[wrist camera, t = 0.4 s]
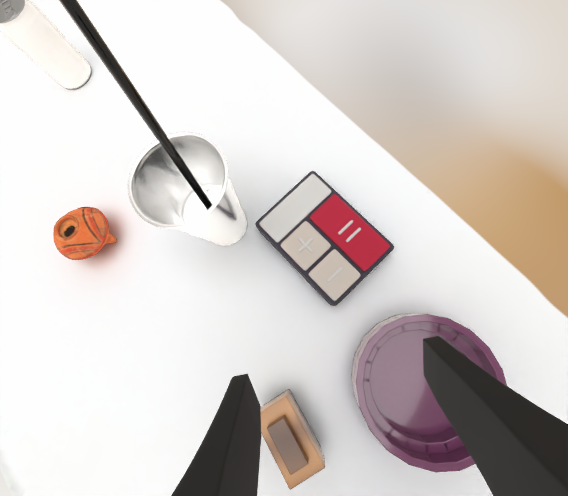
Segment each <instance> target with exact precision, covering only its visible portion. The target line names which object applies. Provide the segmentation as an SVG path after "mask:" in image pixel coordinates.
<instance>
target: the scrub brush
mask: <svg viewBox="0 0 568 496" xmlns="http://www.w3.org/2000/svg"><path fill="white" fill-rule="evenodd" d="M260 411H261V433H262V435H263V437H264V439H265V441H266V443H267V445H268V447H269V449H270V451H271V453H272V455H273V457H274V459H275V461H276V463H277V465H278V467H279V469H280V471H281V473H282V475H283V477H284V479H285V481H286V483H287V485H288V487H289V489H292V488H294V487H295V486H297V485H298V484H300V483H301V482H303V481H305V480H306V479H308V478H309V477H311V476H312V475H314V474H315V473H317V472H319V471H320V470H322V469H323V468H325V461H324V455H323V453H322V451H321V449H320V444H319V442H318V441H317V439H316V437H315V435H314V433H313V432H312V430H311V428H310V426H309V424H308V422H307V421H306V419H305V417H304V415H303V413H302V412H301V410H300V408H299V406H298V404H297V403H296V401H295V399H294V397H293V395H292V393H291V392H290V390H289V389H288V390H287V391H285V392H283V393H282V394H280V395H279V396H277V397H275V398H274V399H272V400H271V401H269V402H268V403H266V404H264V406H263V407H261V408H260Z"/></svg>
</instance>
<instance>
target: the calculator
mask: <svg viewBox="0 0 568 496" xmlns="http://www.w3.org/2000/svg"><path fill="white" fill-rule="evenodd" d="M256 227H257V228H258V230H259V231H260V233H261V234H262V235H263V236H264V237H265V238H266V239H267V240H268V241H269V242H270V243H271V244H272V245H273V246H274V247H275V248H276V249H277V250H278V251H279V252H280V253H281V254H282V255H283V256H284V257H285V258H286V259H287V260H288V261H289V263H290V264H291V265H292V266H293V267H294V268H295V269H296V270H297V271H298V272H299V273H300V274H301V275H302V276H303V277H304V278H305V279H306V280H307V281H308V282H309V283H310V284H311V285H312V286H313V287H314V289H315V290H316V291H317V292H318V293H319V294H320V295H321V296H322V297H323V298H324V299H325V300H326V301H327V302H328V303H329V304H330V305H332V306H336V305H337V304H338V303H339V302H340V301H341V300H342V299H343V298H344V297H345V296H346V295H347V294H348V293H349V292H350V291H351V290H352V289H353V288H354V287H355V286H357V285H358V284H359V283H360V282H361V281H362V280H363V279H364V278H365V277H366V276H367V275H368V274H369V273H370V272H371V271H372V270H373V269H374V268H375V267H376V266H377V265H378V264H379V263H380V262H381V261H382V260H383V259H384V258H385V257H386V256H387V255H388V254H389V253H390V252H391V251H392V250H393V249H394V246H393V244H392V243H391V242H390V241H388V240H387V239H386V238H385V237H384V236H383V235H382V234H381V233H380V232H379V231H378V230H377V229H376V228H375V227H373V226H372V225H371V224H370V223H369V222H368V221H367V220H366V219H365V218H364V217H363V216H362V215H361V214H360V213H358V212H357V211H356V210H355V209H354V208H353V207H352V206H351V205H350V204H349V203H348V202H347V201H346V200H345V199H343V198H342V197H341V196H340V195H339V194H338V193H337V192H336V191H335V190H334V189H333V188H332V187H331V186H330V185H328V184H327V183H326V182H325V181H324V180H323V179H322V178H321V177H320V176H319V175H318V174H317V173H316V172H314V171H311V172H310V173H309V174H308V175H307V176H306V177H304V178H303V179H302V180H301V181H300V182H299V183H298V184H297V185H296V186H295V187H294V188H293V189H291V190H290V191H289V192H288V193H287V194H286V195H285V196H284V197H283V198H282V199H281V200H280V201H279V202H277V203H276V204H275V205H274V206H273V207H272V208H271V209H270V210H269V211H268V212H267V213H266V214H265V215H263V216H262V217H261V218H260V219H259V220H258V221H257V222H256Z"/></svg>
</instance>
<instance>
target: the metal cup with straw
mask: <svg viewBox="0 0 568 496" xmlns="http://www.w3.org/2000/svg"><path fill="white" fill-rule="evenodd" d="M59 1H60V2H61V3H62V5H63V6H64V8H65V9H66V11H67V12H68V13H69V15H70V16H71V18H72V19H73V20H74V22H75V23H76V25H77V26H78V28H79V29H80V30H81V32H82V33H83V35H84V36H85V37H86V39H87V40H88V42H89V43H90V45H91V46H92V47H93V49H94V50H95V52H96V53H97V54H98V56H99V57H100V59H101V60H102V62H103V63H104V64H105V66H106V67H107V69H108V70H109V72H110V73H111V74H112V76H113V77H114V79H115V80H116V81H117V83H118V84H119V86H120V87H121V89H122V90H123V91H124V93H125V94H126V96H127V97H128V98H129V100H130V101H131V103H132V104H133V106H134V107H135V108H136V110H137V111H138V113H139V114H140V115H141V117H142V118H143V120H144V121H145V123H146V124H147V125H148V127H149V128H150V130H151V131H152V132H153V134H154V135H155V137H156V138H157V140H156V141H154V142H153V143H151V144H150V145H149V146H147V147H146V148H145V149H144V150H143V151H142V152H141V154H140V155H139V156H138V158H137V159H136V161H135V162H134V164H133V166H132V169H131V172H130V175H129V180H128V194H129V198H130V201H131V204H132V206H133V208H134V210H135V211H136V212H137V214H138V215H139V216H140V217H141V218H142V219H144V220H145V221H147V222H148V223H150V224H152V225H154V226H157V227H160V228H166V229H177V230H180V231H183V232H185V233H188V234H191V235H193V236H196V237H199V238H203V239H205V240H208V241H210V242H213V243H215V244H217V245H221V246H228V245H232V244H234V243H236V242H237V241H239V240H240V239H241V238H242V236H243V235H244V233H245V231H246V227H247V220H246V216H245V214H244V213H243V210H242V208H241V206H240V204H239V201H238V198H237V195H236V193H235V191H234V188H233V186H232V184H231V181H230V179H229V177H228V166H227V162H226V159H225V156H224V154H223V153H222V151H221V150H220V148H219V147H218V146H217V145H216V144H215V143H214V142H213V141H212V140H210V139H209V138H207V137H205V136H203V135H200V134H197V133H192V132H178V133H172V134H169V135H166V134H165V132H164V131H163V129H162V128H161V126H160V125H159V123H158V122H157V120H156V119H155V117H154V116H153V114H152V113H151V111H150V110H149V108H148V107H147V105H146V104H145V102H144V101H143V99H142V98H141V96H140V95H139V93H138V92H137V90H136V89H135V87H134V86H133V84H132V83H131V81H130V80H129V78H128V77H127V75H126V74H125V72H124V71H123V69H122V68H121V66H120V65H119V63H118V62H117V60H116V59H115V57H114V56H113V54H112V53H111V51H110V50H109V48H108V47H107V45H106V44H105V42H104V41H103V39H102V38H101V36H100V35H99V33H98V32H97V30H96V29H95V27H94V26H93V24H92V23H91V21H90V20H89V18H88V17H87V15H86V14H85V12H84V11H83V9H82V8H81V6H80V5H79V3H78V2H77V0H59Z"/></svg>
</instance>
